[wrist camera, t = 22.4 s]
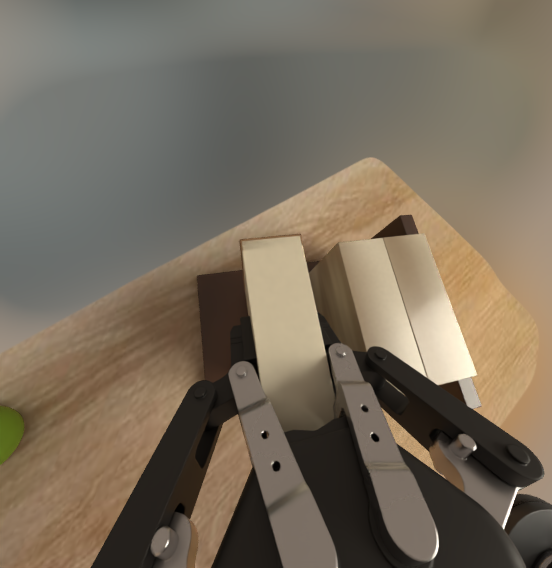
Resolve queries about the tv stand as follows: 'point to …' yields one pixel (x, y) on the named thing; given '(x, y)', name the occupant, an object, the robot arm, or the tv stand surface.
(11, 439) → the snail figurine
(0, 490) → the tv stand surface
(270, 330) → the cream book
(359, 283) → the book rack
